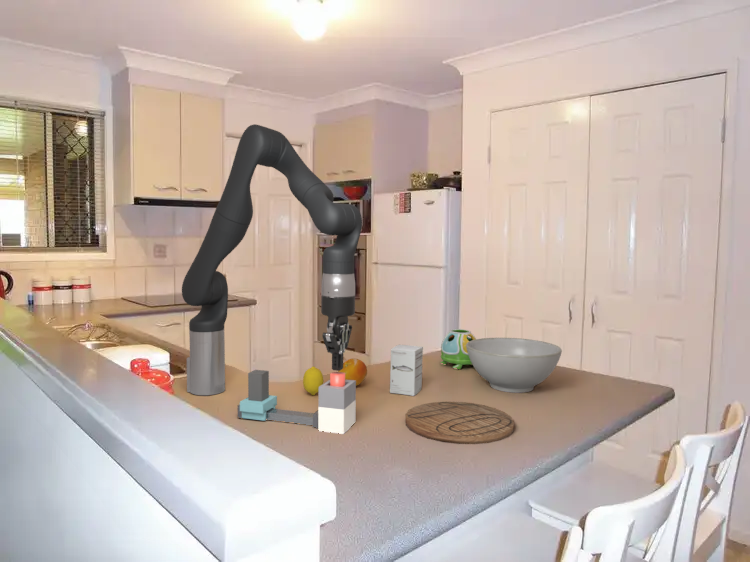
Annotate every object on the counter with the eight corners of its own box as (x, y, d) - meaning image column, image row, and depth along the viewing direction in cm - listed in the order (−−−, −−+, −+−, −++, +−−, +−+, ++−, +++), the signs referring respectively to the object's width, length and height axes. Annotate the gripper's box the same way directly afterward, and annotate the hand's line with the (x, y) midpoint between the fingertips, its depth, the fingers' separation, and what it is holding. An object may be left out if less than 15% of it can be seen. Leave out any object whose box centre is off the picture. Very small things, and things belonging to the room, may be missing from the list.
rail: (237, 418, 131) (237, 405, 131) (248, 412, 136) (248, 399, 136) (317, 428, 125) (317, 414, 125) (325, 421, 130) (326, 408, 130)
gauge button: (327, 401, 125) (327, 374, 124) (333, 396, 128) (333, 371, 128) (341, 402, 124) (342, 376, 123) (347, 398, 127) (347, 372, 127)
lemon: (320, 399, 148) (320, 369, 147) (300, 397, 149) (300, 368, 148) (325, 393, 153) (326, 364, 152) (306, 391, 154) (306, 363, 153)
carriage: (239, 418, 130) (239, 374, 129) (254, 410, 136) (254, 367, 136) (262, 421, 128) (262, 376, 127) (276, 412, 135) (276, 369, 134)
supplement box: (389, 393, 154) (389, 348, 153) (398, 386, 160) (398, 343, 159) (414, 396, 151) (415, 350, 150) (422, 389, 158) (423, 345, 157)
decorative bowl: (525, 372, 179) (526, 335, 178) (580, 396, 153) (582, 353, 152) (449, 378, 170) (450, 339, 169) (495, 404, 145) (496, 358, 144)
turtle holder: (473, 375, 175) (474, 337, 174) (432, 364, 189) (433, 329, 188) (498, 369, 183) (499, 333, 182) (457, 359, 197) (458, 326, 196)
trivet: (383, 420, 132) (383, 413, 132) (458, 403, 147) (459, 396, 147) (458, 455, 112) (458, 445, 112) (536, 430, 127) (537, 422, 127)
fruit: (332, 388, 158) (332, 360, 157) (344, 381, 166) (345, 354, 165) (360, 391, 155) (360, 363, 154) (371, 384, 163) (371, 357, 162)
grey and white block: (318, 431, 124) (318, 387, 123) (331, 419, 131) (331, 378, 130) (343, 434, 122) (343, 389, 121) (355, 422, 129) (355, 380, 129)
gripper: (333, 290, 131) (332, 362, 133) (310, 295, 119) (310, 375, 120) (363, 291, 129) (362, 364, 131) (343, 297, 117) (342, 378, 118)
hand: (337, 369), depth 125 cm, fingers closed
